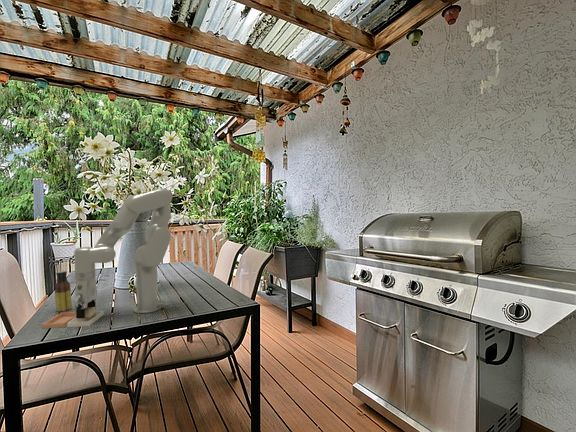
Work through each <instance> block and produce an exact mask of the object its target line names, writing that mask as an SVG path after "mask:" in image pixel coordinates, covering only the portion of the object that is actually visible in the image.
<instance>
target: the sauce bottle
mask: <svg viewBox="0 0 576 432" xmlns="http://www.w3.org/2000/svg"><path fill="white" fill-rule="evenodd" d="M67 274H68V272H67V270H59V271H56V283H55V285H54V296H55V297H54V298H55V309H56V313H68V312H70V311H72V310H73V309H72V308H73V302H72V291H71V284H70V282H69V281H68V278H67Z"/></svg>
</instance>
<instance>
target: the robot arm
mask: <svg viewBox="0 0 576 432" xmlns="http://www.w3.org/2000/svg"><path fill="white" fill-rule="evenodd" d="M172 200H173V195H172V193H171V191H170V190H169V189H166V188H155V189H154V188H153V189H151V190H150V191H149V192H148V191H147V192H145V193H140V194H135V195H134V194H133V195H132V194H131V195H129V196H128V197H127V198H125V200H124V201H123V203H122V204H121V206H120V208H119V209H118V212H117V213H116V214H115V216H114V218H113V219H112V221H111V222H110V224H109V225H108V226H107V228H106V229H105V230H104V232H103V233H102V234H101V236H100V237H99V239H98V240H97V242H96V243H95V245H94V247H91V246H83V247H77V248H75V250H74V251H73V252H74V253H73V254H74V280H75V289H74V290H75V291H74V295H75V296H74V298H75V299H74V300H73V304H74V307H75V312H76V318H85V305H87V306H86V307H95V311H97V310H96V309H97V308H96V307H97V306H96V305H97V304H96V300H97V297H98V287H97V286H98V285H97V281H96V280H97V279H96V264H107V263H111V262H113V260H115V258H116V256H117V255H116V250H115V249H114V248H115V246H116V245H117V243H118V241H119V240H120V239H121V238H122V237H123V236H125V235H126V234H127V233H129V231H131V229H132V227H133V226H134V224H135V222H136V220H137V219H138V217H139V216H140V214H144V213H146V212H150V211H152V214H151V217H150V220H149V222H148V225H147V228H146V230H145V233H144V238H145V241H146V242H147V244H145V245H144V244H143V245H141V246H139V247H138V248H137V249H136V250H135V253H134V256H133V257H134V264H135V265H134V266H135V276H136V277H135V279H136V280H135V282H136V285H135V286H136V287H135V288H136V290H135V293H136V306H134V307H133V310H132V311H133V313H134V314H135V313H136V314H148V313H154V312H157V311H159V310H160V309H161V308H162V306H167V304H168V303H167V300H160V297H158V296H159V295H158V268H157V267H158V266H159V265H160V264H161V263H162V262H163V260H164V257H165V256H166V253H167V250H168V247H169V245H170V243H171V239H172V233H171V230H170V229H169V228H168V225H169V223H170V220H171V217H172V216H171V215H172V211H171V206H170V204H171V202H172Z"/></svg>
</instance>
